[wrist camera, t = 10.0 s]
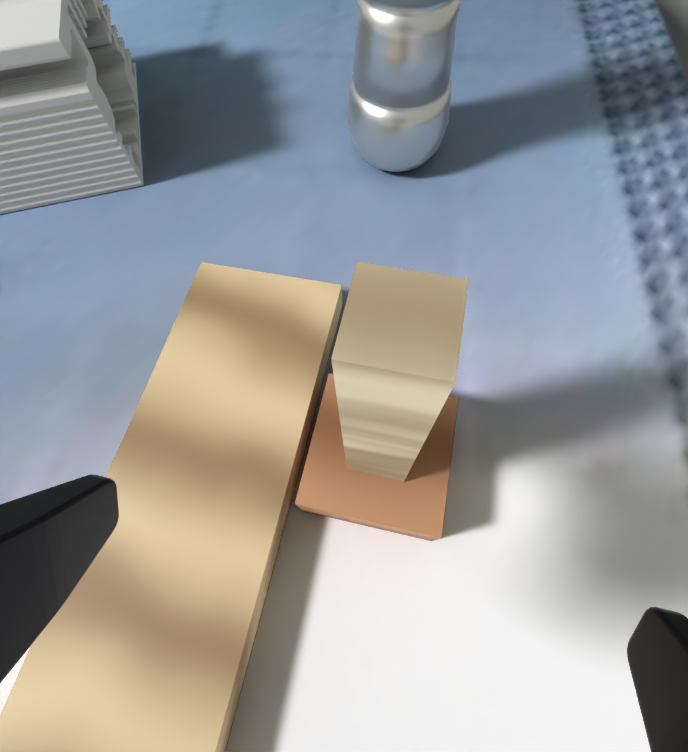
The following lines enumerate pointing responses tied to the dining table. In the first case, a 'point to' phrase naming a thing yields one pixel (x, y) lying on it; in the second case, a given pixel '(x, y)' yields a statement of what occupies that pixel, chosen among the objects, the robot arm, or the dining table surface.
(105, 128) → the aluminum extrusion profile
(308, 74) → the dining table surface
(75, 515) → the robot arm
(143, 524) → the board
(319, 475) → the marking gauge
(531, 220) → the dining table surface
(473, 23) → the dining table surface
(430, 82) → the plastic bottle
